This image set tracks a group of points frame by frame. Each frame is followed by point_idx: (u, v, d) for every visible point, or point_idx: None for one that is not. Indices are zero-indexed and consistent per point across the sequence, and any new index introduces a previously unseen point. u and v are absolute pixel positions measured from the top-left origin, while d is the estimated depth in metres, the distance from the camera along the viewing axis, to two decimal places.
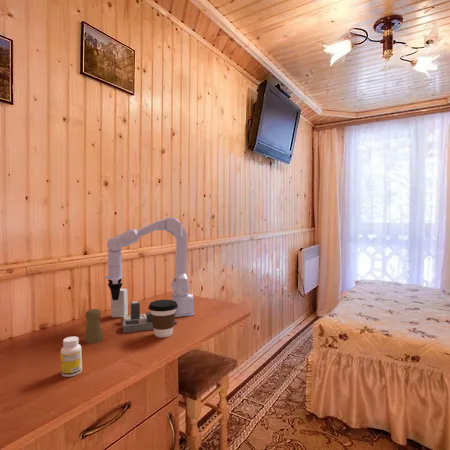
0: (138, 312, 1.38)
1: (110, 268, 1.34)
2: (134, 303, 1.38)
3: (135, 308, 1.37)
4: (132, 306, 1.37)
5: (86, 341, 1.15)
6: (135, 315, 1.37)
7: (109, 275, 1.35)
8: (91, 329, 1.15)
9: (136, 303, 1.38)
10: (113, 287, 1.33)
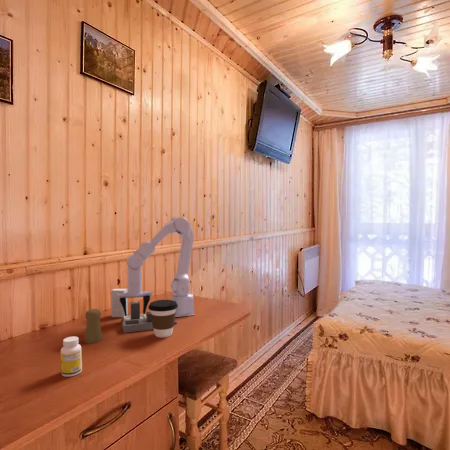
0: (138, 312, 1.38)
1: None
2: (134, 303, 1.38)
3: (135, 308, 1.37)
4: (132, 306, 1.37)
5: (86, 341, 1.15)
6: (135, 315, 1.37)
7: None
8: (91, 329, 1.15)
9: (136, 303, 1.38)
10: None
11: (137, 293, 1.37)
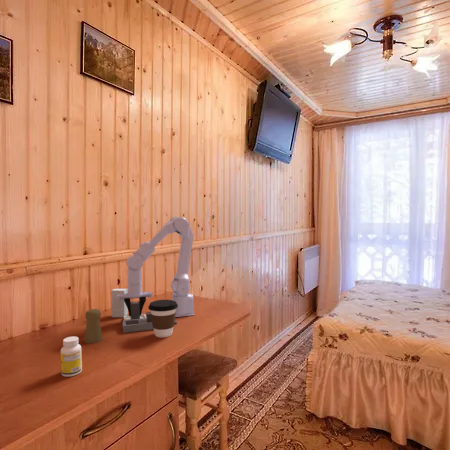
0: (138, 312, 1.38)
1: None
2: (134, 303, 1.38)
3: (135, 308, 1.37)
4: (132, 306, 1.37)
5: (86, 341, 1.15)
6: (135, 315, 1.37)
7: None
8: (91, 329, 1.15)
9: (136, 303, 1.38)
10: None
11: (137, 294, 1.37)
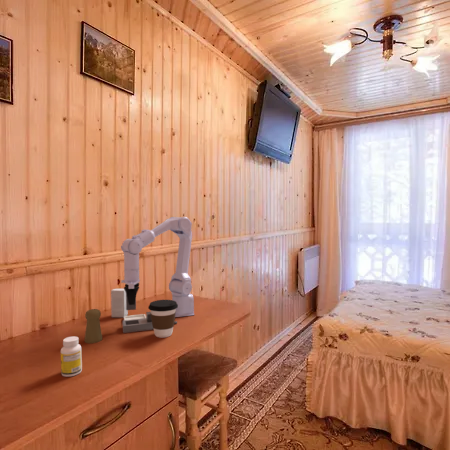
0: None
1: (126, 272, 1.26)
2: None
3: None
4: None
5: (86, 341, 1.15)
6: None
7: (125, 279, 1.27)
8: (91, 329, 1.15)
9: None
10: (129, 291, 1.27)
11: None
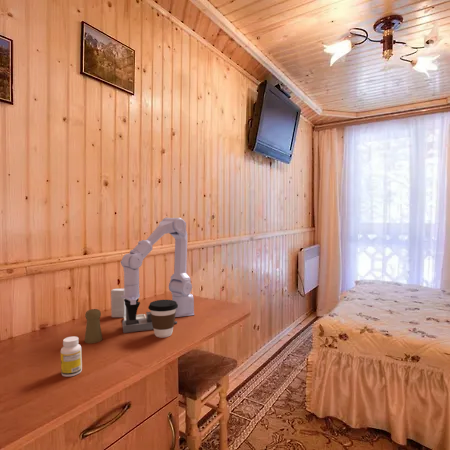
0: None
1: (127, 287, 1.25)
2: None
3: None
4: None
5: (86, 341, 1.15)
6: None
7: (126, 294, 1.26)
8: (91, 329, 1.15)
9: None
10: (130, 306, 1.26)
11: None
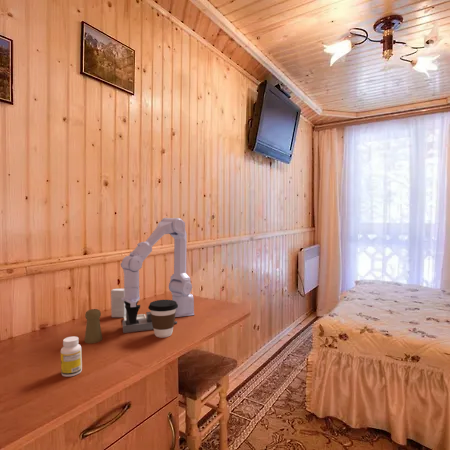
0: None
1: (127, 289, 1.25)
2: None
3: None
4: None
5: (86, 341, 1.15)
6: None
7: (126, 297, 1.26)
8: (91, 329, 1.15)
9: None
10: (130, 309, 1.25)
11: None
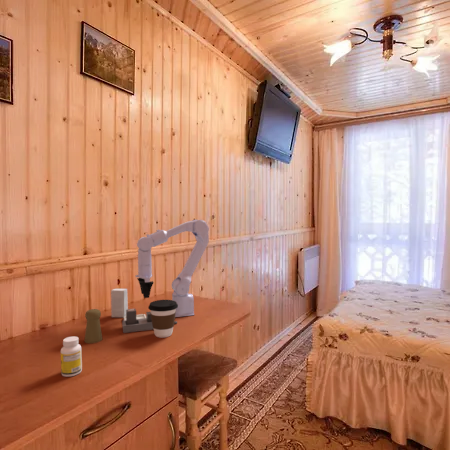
0: None
1: (141, 267, 1.39)
2: (134, 310, 1.28)
3: None
4: None
5: (86, 341, 1.15)
6: None
7: (140, 274, 1.39)
8: (91, 329, 1.15)
9: (134, 309, 1.29)
10: (144, 285, 1.37)
11: None
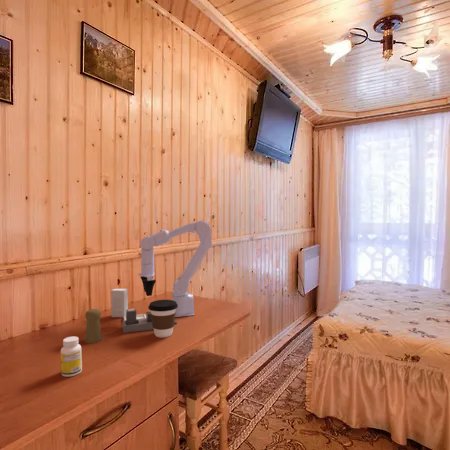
0: None
1: (144, 266, 1.42)
2: (134, 310, 1.28)
3: None
4: None
5: (86, 341, 1.15)
6: None
7: (143, 272, 1.42)
8: (91, 329, 1.15)
9: (134, 309, 1.29)
10: (147, 283, 1.41)
11: None
